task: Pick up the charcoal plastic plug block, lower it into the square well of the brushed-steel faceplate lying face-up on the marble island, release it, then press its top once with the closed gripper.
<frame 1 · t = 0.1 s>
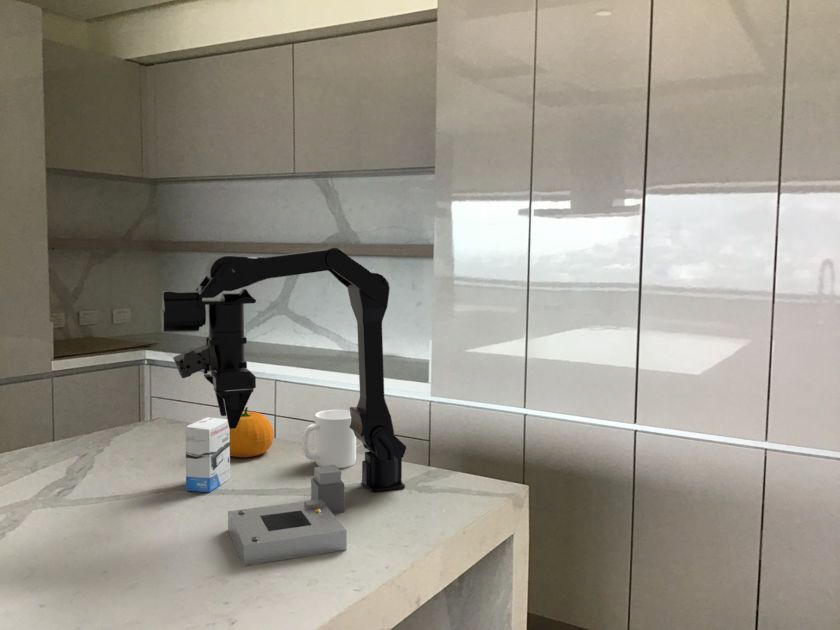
hand: (228, 421, 127), 15 cm above the countertop, fingers open, 9 cm apart
faceplate: (285, 539, 114), on the countertop
ink box: (208, 485, 138), on the countertop
plug: (327, 509, 127), on the countertop
fruit: (245, 454, 159), on the countertop
cup: (328, 465, 151), on the countertop
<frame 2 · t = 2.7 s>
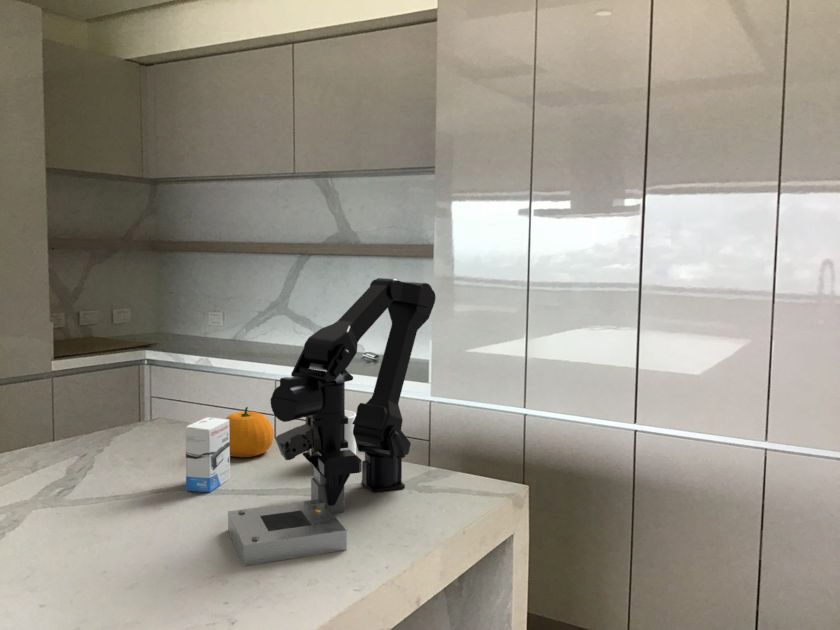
hand: (327, 500, 127), 2 cm above the countertop, fingers closed on plug, 4 cm apart
plug: (327, 509, 127), on the countertop, touching gripper
everything else where it was.
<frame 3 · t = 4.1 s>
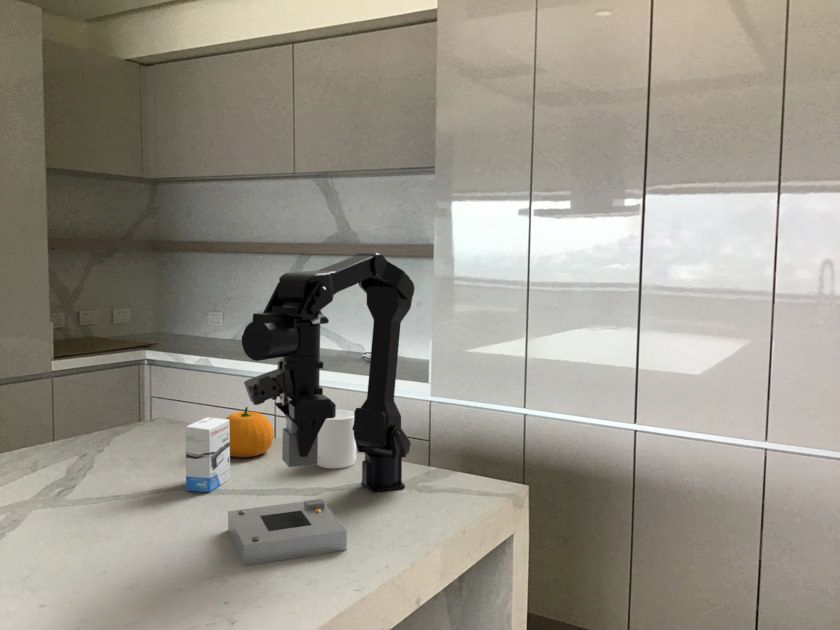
hand: (299, 452, 117), 12 cm above the countertop, fingers closed on plug, 4 cm apart
plug: (299, 462, 117), point 11 cm above the countertop, touching gripper
everything else where it was.
when the fingers open (3 cm above the countertop, at t = 5.9 s): plug drops 1 cm, resting on faceplate.
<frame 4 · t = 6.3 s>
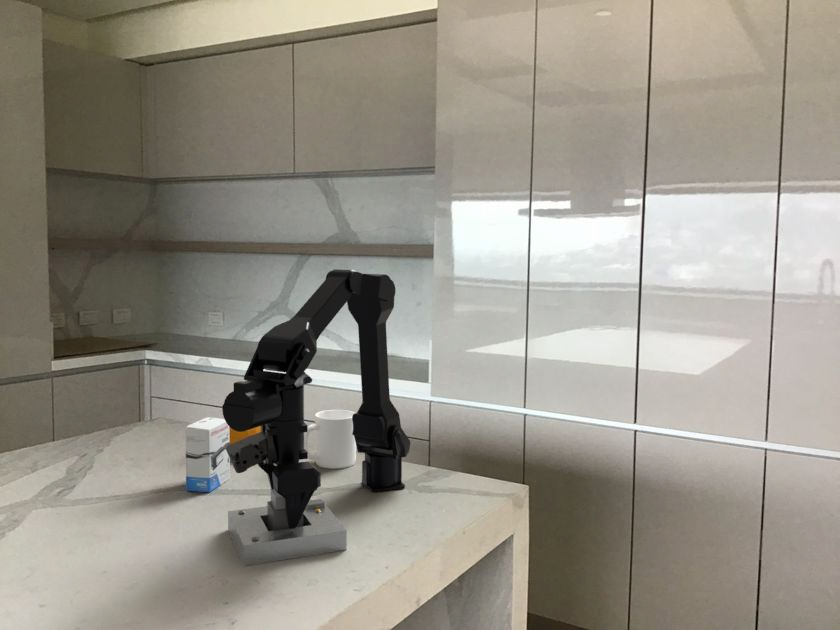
hand: (285, 517, 114), 3 cm above the countertop, fingers open, 9 cm apart
plug: (285, 536, 114), resting on faceplate
everything else where it was.
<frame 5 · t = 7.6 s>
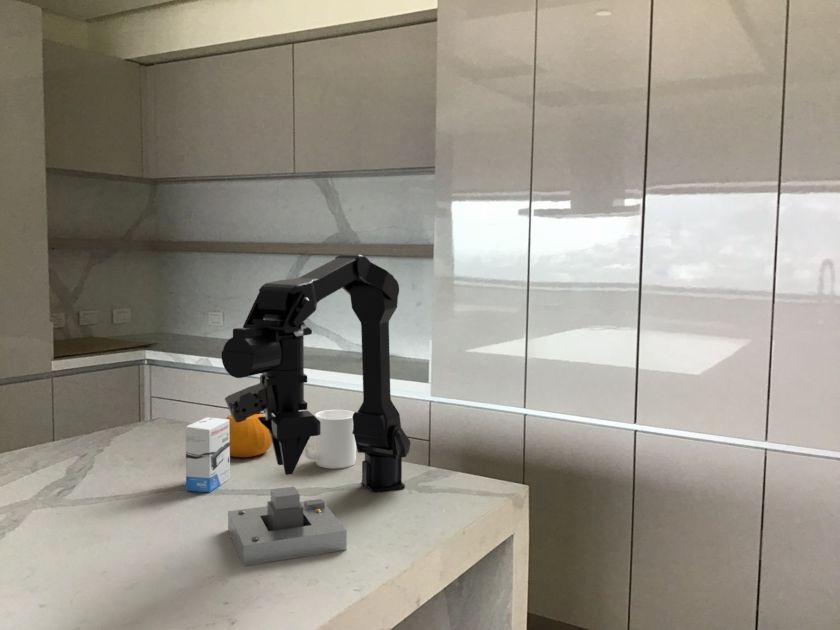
hand: (284, 469, 113), 11 cm above the countertop, fingers open, 5 cm apart
nothing on the countertop moved.
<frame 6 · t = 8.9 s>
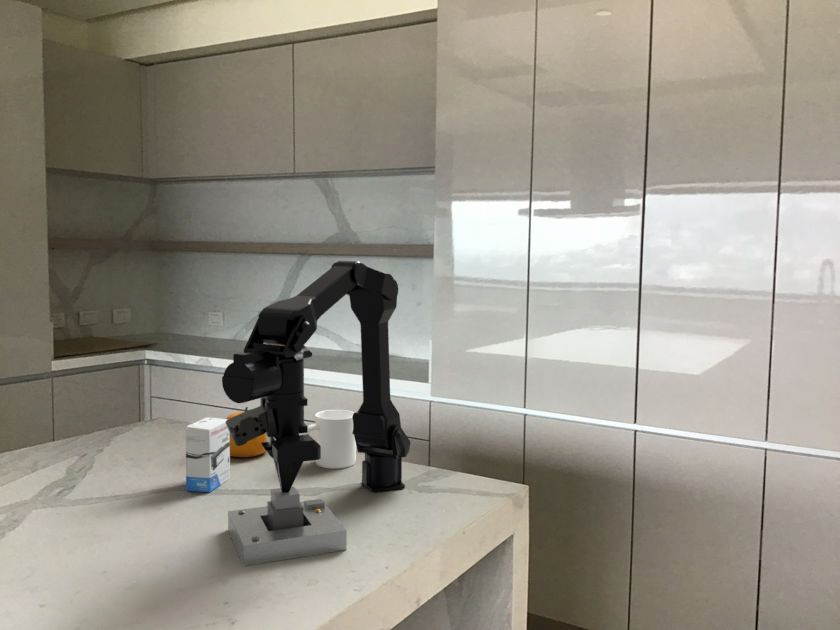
hand: (285, 491, 113), 7 cm above the countertop, fingers closed, pressing on plug
plug: (285, 536, 114), resting on faceplate, touching gripper
everything else where it was.
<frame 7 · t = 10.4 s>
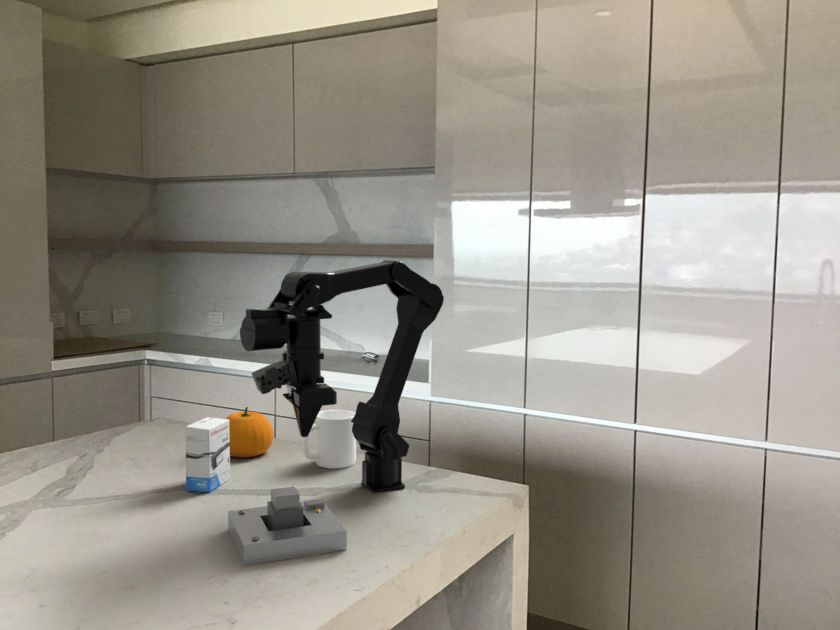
hand: (304, 436, 128), 12 cm above the countertop, fingers closed
plug: (285, 536, 114), resting on faceplate
everything else where it was.
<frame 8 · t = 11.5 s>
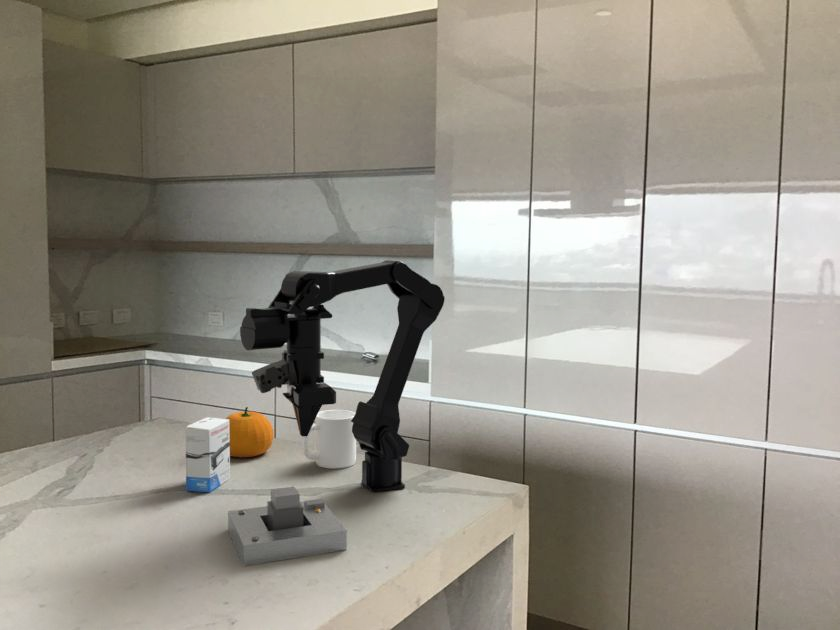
hand: (303, 435, 128), 12 cm above the countertop, fingers closed
nothing on the countertop moved.
at the end: plug 0.0 cm off-centre on the faceplate, point 0.5 cm above the faceplate's base; plug tilted 0°; the gripper is holding nothing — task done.
